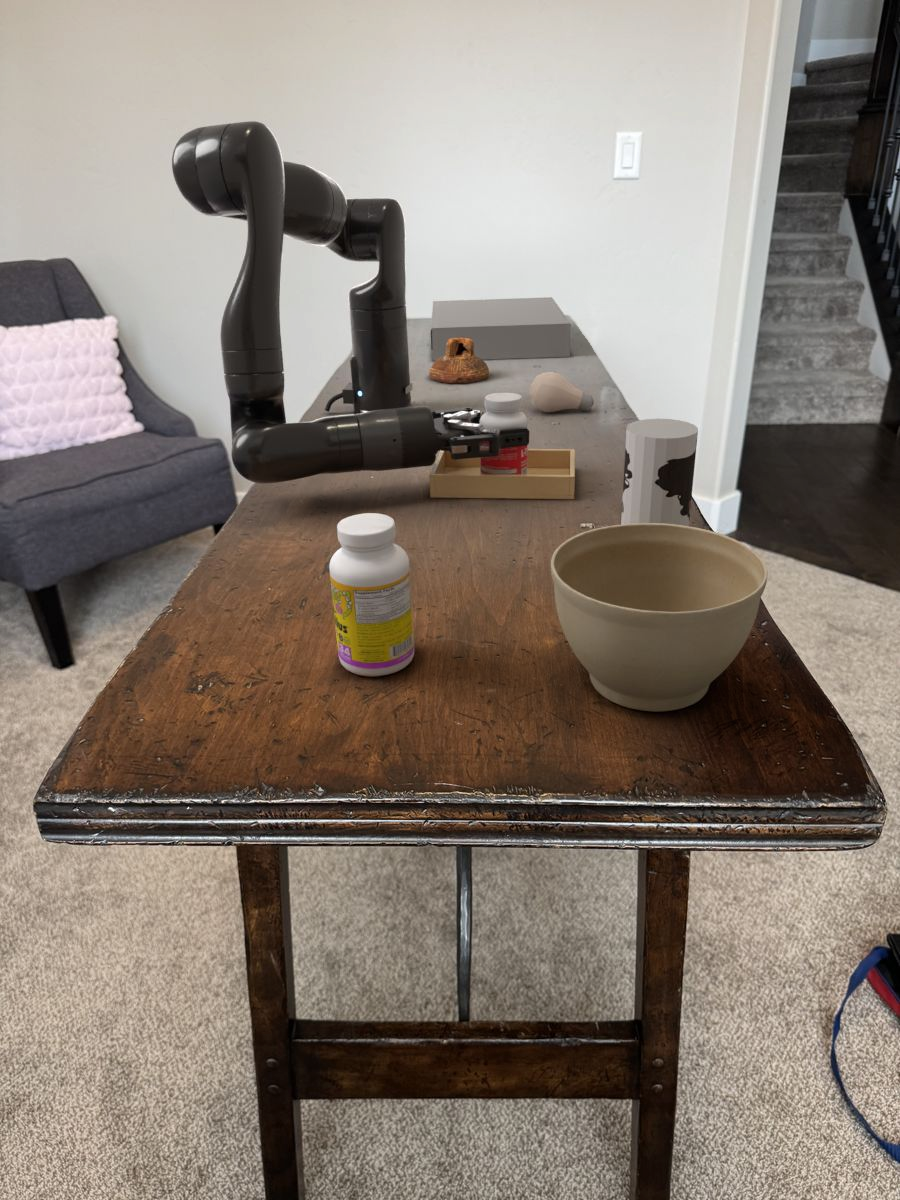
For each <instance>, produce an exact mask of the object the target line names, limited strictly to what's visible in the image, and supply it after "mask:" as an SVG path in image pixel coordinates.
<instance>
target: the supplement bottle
mask: <svg viewBox="0 0 900 1200" xmlns="http://www.w3.org/2000/svg"><path fill="white" fill-rule="evenodd" d="M336 532H337V540H338V542H339V544H340V546H341V547H340V548H338V549H337V550H336V551H335V552H334V553H333V555H332V556H331V558H330V561H329V564H328V567H329V569H328V570H329V580H330V588H331V597H332V607H333V608H332V609H333V619H334V628H335V637H336V645H337V654H338V659H339V662H340V664H341V666H343V668H344V669H345V670H347V671H348V672H350V673H352V674H355V675H358V676H363V677H381V676H388V675H391V674H395V673H397V672H399V671H401V670H404V669H405V668H406V667H407V666H408V665H409V664H410V663H411V662H412V661H413V658H414V656H415V633H414V632H415V631H414V620H413V604H412V603H413V602H412V586H411V572H410V571H411V570H410V559H409V556H408V553H407V552H406V550H405V549H404V548H403V547H401V546H400V545H398V544H396V543H395V539H396V536H397V535H396V534H397V533H396V532H397V531H396V524H395V520H394V519H393V518H392V517H391V516H389V515H387V514H383V513H377V512H376V513H374V512H366V513H365V512H364V513H358V514H353V515H350V516H347V517H344V518H343V519H341V520H340V521H339V522H338V523H337V525H336Z"/></svg>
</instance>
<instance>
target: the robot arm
mask: <svg viewBox="0 0 900 1200" xmlns="http://www.w3.org/2000/svg"><path fill="white" fill-rule="evenodd" d="M171 169H172V171H171V172H172V175H173V179H174V181H175V184H176V186H177V188H178V191H179V192H180V194H181V196H182V197H183V198H184V199H185V201H186V202H187V203H188V204H189V206H191V207H192V208H193V209H194V210H196V211H197V212H199V213H200V214H202V215H204V216H207V217H213V218H225V219H231V220H232V219H233V220H239V221H243V222H247V223H246V224H247V237H246V238H247V240H246V247H245V252H244V255H243V260H242V263H241V266H240V270H239V272H238V274H237V278H236V280H235V282H234V285H233V287H232V289H231V292H230V294H229V296H228V299H227V302H226V304H225V307H224V311H223V313H222V318H221V322H220V349H221V357H222V358H221V361H222V368H223V369H222V370H223V377H224V384H225V389H226V393H227V396H228V399H229V412H230V413H229V414H230V415H229V416H230V432H231V461H232V464H233V466H234V468H235V470H236V471H237V473H238V474H239V475H240V476H241V477H242V478H244V479H246V480H247V481H249V482H252V483H256V484H260V485H261V484H263V485H264V484H265V485H266V484H277V483H284V482H290V481H295V480H299V479H304V478H308V477H313V476H316V475H325V474H330V475H331V474H343V473H353V472H361V471H362V472H365V471H368V472H369V471H370V472H373V471H374V472H382V471H385V472H386V471H392V470H403V469H404V470H405V469H412V468H422V467H431V466H434V464H435V461H436V459H437V454H438V453H439V452H440V450H441V451H449V452H450V453H451V459H454V460H457V459H467V458H479V457H491V456H498V455H499V451H500V448H509V447H519V446H527V447H528V445H529V444H530V430H529V428H528V427H527V428H526V427H520V428H509V429H499V430H497V429H485V428H484V426H483V425H482V424H479V423H480V418H481V416H482V415H483V414H484V413H486V412H487V411H481V410H478V409H473V407H470V406H465V407H459V408H450V409H442V410H441V409H440V410H431V408H429V406H427V405H415V406H413V405H412V404H413V403H412V395H411V391H413V383H411V377H410V375H411V374H410V356H409V340H408V338H409V337H408V321H407V317H408V316H407V305H406V304H407V300H406V292H407V291H406V290H407V267H406V266H407V265H406V264H407V263H406V261H407V260H406V258H407V257H406V256H407V255H406V254H407V251H406V250H407V249H406V248H407V244H406V243H407V242H406V241H407V237H406V236H407V233H406V232H407V231H406V219H405V214H404V210H403V207H402V204H401V203H400V202H399V201H398V199H396V198H393V197H352V198H351V197H350V198H347V197H346V195H345V193H344V191H343V188H342V187H341V185H339V184H338V182H337V181H335V180H334V179H333V177H330V176H329V175H328V174H326V173H324V172H322V171H320V170H318V169H316V168H314V167H312V166H309V165H306V164H302V163H299V162H293V161H284V160H283V155H282V151H281V147H280V145H279V141H278V140H277V138H276V136H275V134H274V133H273V132H272V130H271V129H270V128H269V127H268V126H267V125H265V123H263V122H260V121H256V120H252V121H251V120H250V121H240V122H239V121H237V122H233V123H230V122H229V123H223V124H215V125H207V126H201V127H196V128H194V129H192V130H190V131H188V132H186V133H185V134H184V135H182V136H181V137H180V138H179V139H178V141H177V142H176V144H175V146H174V148H173V151H172V157H171ZM284 236H285V237H287V238H290V239H292V240H296V241H298V242H302V243H304V244H308V245H313V246H318V247H323V248H326V249H328V250H329V251H330V252H332V253H333V254H335V255H336V256H338V257H340V258H342V259H344V260H346V261H349V262H357V263H358V262H362V263H363V262H364V263H365V262H372V263H373V262H374V263H375V262H377V263H378V269H377V273H376V274H375V275H374V276H373V277H372V278H370V279H369V280H367V281H365V282H362V283H360V284H357V285H355V286H353V287H352V288H350V289H349V291H348V295H347V296H348V298H347V300H348V309H349V311H348V312H349V321H350V333H351V347H352V355H351V356H350V358H349V362H350V376H351V382H348V383H347V384H346V385H345V386H344V388H343V389H341V392H340V393H337V394H335V395H333V396H331V398H330V399H329V400H328V401H327V403H326V405H325V408H324V411H326V412H327V413H328V412H330V410H331V407H332V406H333V404H334V403H335V402H336V401H339V400H340V399H342V403H343V404H344V405H345V404H346V405H353V412H354V413H351V414H340V415H329V416H323V417H319V418H316V419H313V420H311V421H300V422H287V419H286V409H285V403H284V392H285V369H284V368H285V367H284V357H283V343H282V336H281V334H282V333H281V314H280V313H281V306H280V305H281V281H282V269H283V268H282V267H283V254H284V253H283V252H284ZM484 441H489V444H485V443H484ZM482 450H483V451H482Z"/></svg>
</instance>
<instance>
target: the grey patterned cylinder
mask: <svg viewBox="0 0 900 1200" xmlns="http://www.w3.org/2000/svg"><path fill="white" fill-rule="evenodd" d="M625 433H626V434H625V451H624V465H623V467H624V468H623V481H622V483H623V484H622V485H623V486H622V499H621V501H622V502H621V504H622V505H621V516H620V517H621V518H620V525H622V524H631V523H665V524H676V525H683V526H689V527H690V519H691V508H692V496H693V486H694V475H695V466H696V455H697V446H698V435H699V427H697V426H696V425H695V424H694V423H690V422H688V421H685V420H680V419H672V418H647V419H646V418H645V419H639V420H635V421H632V422H630V423H628V424H627V425H626V432H625Z"/></svg>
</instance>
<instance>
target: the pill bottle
mask: <svg viewBox="0 0 900 1200" xmlns="http://www.w3.org/2000/svg"><path fill="white" fill-rule="evenodd" d="M522 406H523V397H522V395H521V394H519V393H512V392H493V393H490V394H487V395H486V396H484V409H485V410H486V411H485V412H486V413H484V414H483V415H482V416H481V418H480V423H479V424H482V425H483V426H484V428H485V429H497V430H499V429H509V428H520V427H526V428H527V429H528V418H527V416H526V415H525V413H524V412H522V411H521V409H522ZM484 443H485V444H489V441H484ZM527 449H528V445H527V446H519V447H509V448H500V451H499V455H498V456H491V457H480V474H507V475H527ZM482 451H483V450H482Z"/></svg>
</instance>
